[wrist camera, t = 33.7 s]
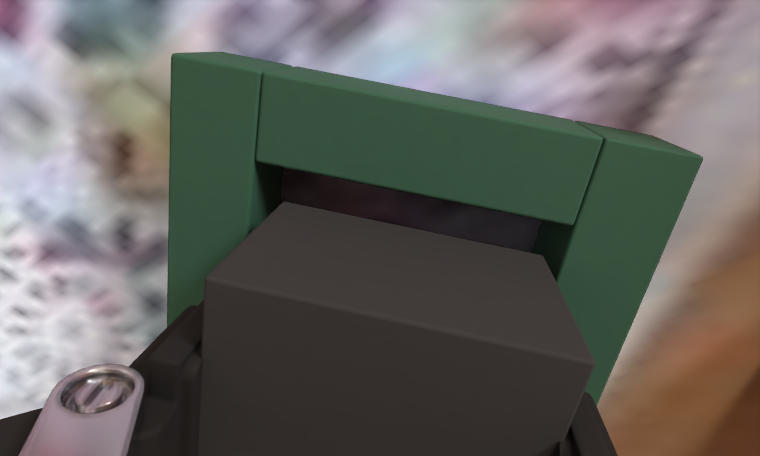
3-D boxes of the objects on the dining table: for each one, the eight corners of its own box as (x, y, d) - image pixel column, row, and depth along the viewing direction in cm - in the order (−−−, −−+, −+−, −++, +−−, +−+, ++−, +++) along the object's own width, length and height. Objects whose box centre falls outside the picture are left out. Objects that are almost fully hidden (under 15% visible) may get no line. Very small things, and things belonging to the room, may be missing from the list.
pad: (260, 405, 13) (189, 545, 9) (283, 199, 11) (202, 276, 7) (477, 455, 13) (492, 620, 9) (544, 254, 11) (598, 363, 7)
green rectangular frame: (193, 569, 20) (160, 638, 18) (219, 51, 13) (169, 52, 10) (461, 635, 19) (463, 715, 17) (654, 135, 12) (705, 157, 10)
